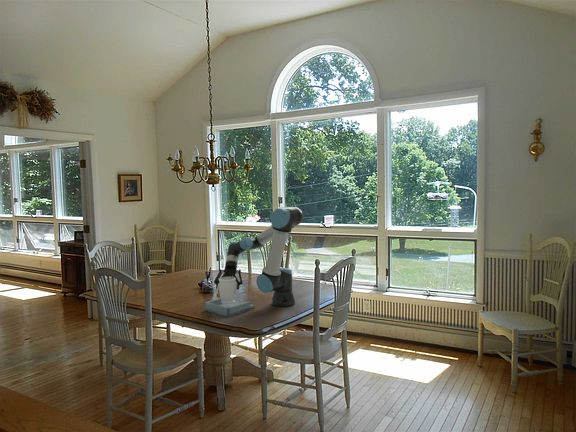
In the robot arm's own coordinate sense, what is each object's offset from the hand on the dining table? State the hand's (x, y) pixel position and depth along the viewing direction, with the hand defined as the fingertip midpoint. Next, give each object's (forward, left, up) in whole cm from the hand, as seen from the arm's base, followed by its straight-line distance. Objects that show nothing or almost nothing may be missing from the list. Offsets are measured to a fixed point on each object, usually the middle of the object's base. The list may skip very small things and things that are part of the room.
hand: (226, 293), depth 267 cm
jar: (+2, -2, -6) cm, 7 cm away
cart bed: (+1, -4, -11) cm, 11 cm away
